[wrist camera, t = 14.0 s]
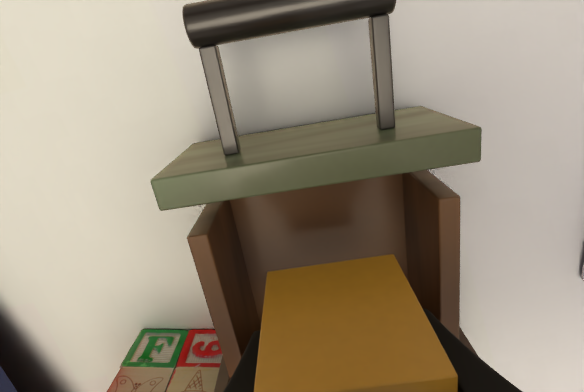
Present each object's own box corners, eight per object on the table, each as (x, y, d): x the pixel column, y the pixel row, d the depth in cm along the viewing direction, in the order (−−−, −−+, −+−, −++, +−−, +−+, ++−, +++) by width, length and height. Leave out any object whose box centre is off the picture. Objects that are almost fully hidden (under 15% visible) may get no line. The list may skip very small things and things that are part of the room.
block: (393, 253, 12) (459, 376, 7) (400, 352, 14) (457, 504, 9) (266, 271, 12) (251, 400, 8) (287, 366, 14) (285, 521, 9)
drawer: (160, 25, 16) (92, 7, 10) (418, -23, 15) (488, -68, 10) (248, 351, 22) (234, 444, 17) (428, 328, 22) (474, 416, 16)
